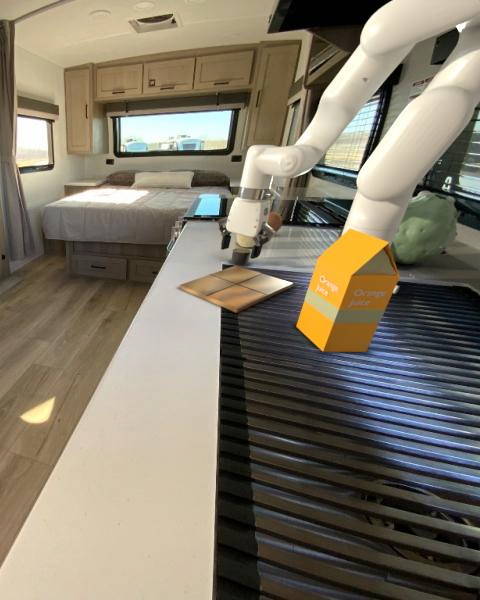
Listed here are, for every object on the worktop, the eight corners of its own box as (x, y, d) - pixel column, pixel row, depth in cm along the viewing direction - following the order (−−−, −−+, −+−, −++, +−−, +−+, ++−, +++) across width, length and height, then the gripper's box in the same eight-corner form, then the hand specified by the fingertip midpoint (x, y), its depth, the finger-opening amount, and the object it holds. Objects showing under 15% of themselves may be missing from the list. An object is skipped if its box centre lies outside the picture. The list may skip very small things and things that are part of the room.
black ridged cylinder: (251, 263, 99) (254, 251, 97) (241, 267, 97) (244, 254, 95) (236, 259, 103) (239, 247, 101) (227, 262, 100) (229, 250, 99)
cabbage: (365, 264, 97) (393, 194, 88) (373, 250, 109) (398, 186, 100) (440, 278, 87) (479, 200, 78) (439, 260, 99) (473, 191, 90)
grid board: (292, 286, 84) (293, 282, 83) (236, 312, 72) (237, 308, 72) (235, 268, 96) (236, 265, 95) (179, 288, 84) (179, 284, 84)
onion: (253, 242, 129) (245, 218, 126) (264, 231, 133) (257, 208, 130) (278, 238, 121) (271, 213, 118) (289, 227, 125) (282, 202, 123)
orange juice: (334, 326, 66) (372, 228, 58) (367, 352, 58) (416, 242, 50) (294, 326, 67) (326, 228, 58) (322, 351, 59) (362, 242, 50)
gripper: (292, 197, 87) (274, 259, 94) (233, 188, 99) (221, 243, 107) (276, 200, 83) (259, 264, 91) (217, 191, 96) (206, 247, 103)
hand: (238, 253), depth 99 cm, fingers open, 9 cm apart
